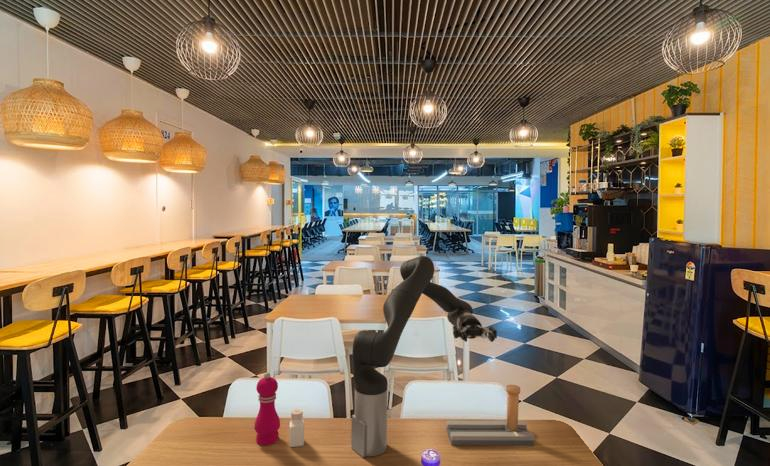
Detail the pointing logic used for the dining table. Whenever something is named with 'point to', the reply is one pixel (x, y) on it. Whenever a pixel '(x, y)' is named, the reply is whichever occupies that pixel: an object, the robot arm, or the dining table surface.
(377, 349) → the robot arm
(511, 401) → the wooden peg
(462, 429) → the grey stand base
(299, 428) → the pepper shaker
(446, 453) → the dining table surface
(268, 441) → the pepper mill
